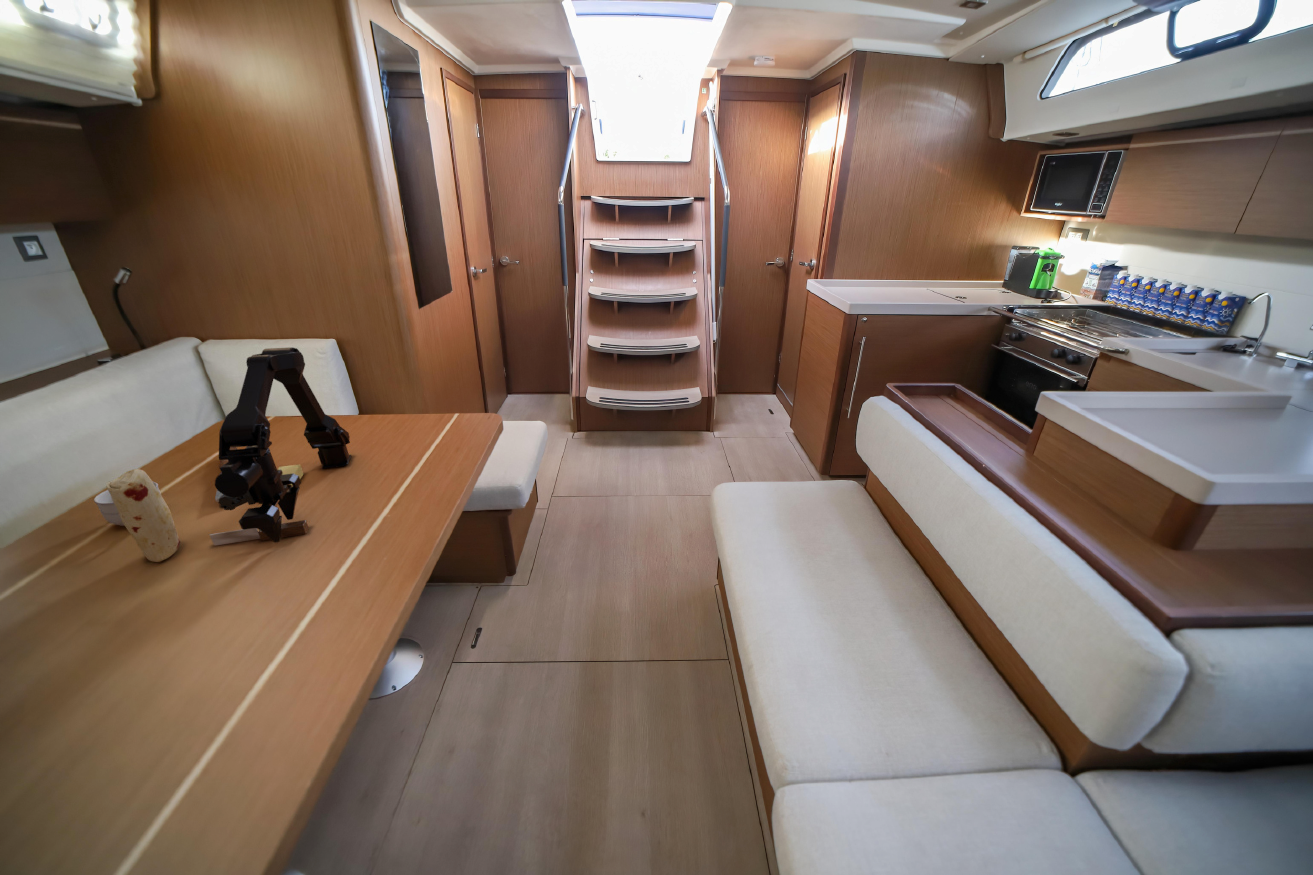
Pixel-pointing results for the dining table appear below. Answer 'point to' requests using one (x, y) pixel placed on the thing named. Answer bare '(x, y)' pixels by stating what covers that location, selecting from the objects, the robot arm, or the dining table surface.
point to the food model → (145, 514)
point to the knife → (258, 533)
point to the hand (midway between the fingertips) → (284, 530)
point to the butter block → (292, 470)
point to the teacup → (110, 507)
